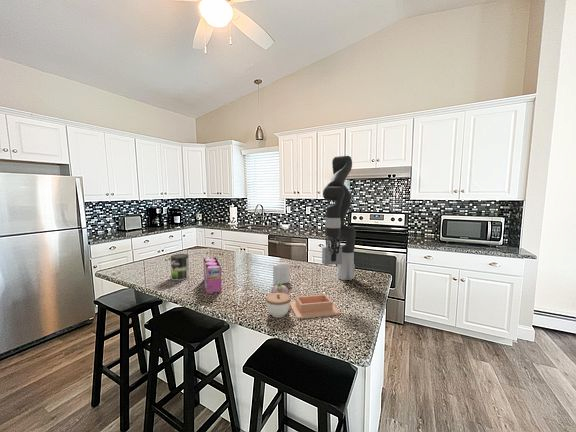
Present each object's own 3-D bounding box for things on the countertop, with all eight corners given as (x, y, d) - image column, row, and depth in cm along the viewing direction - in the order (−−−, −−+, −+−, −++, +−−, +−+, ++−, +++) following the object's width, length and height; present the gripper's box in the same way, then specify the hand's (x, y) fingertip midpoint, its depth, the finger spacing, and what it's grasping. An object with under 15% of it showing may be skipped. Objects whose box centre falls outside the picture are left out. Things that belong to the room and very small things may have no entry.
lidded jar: (270, 322, 106) (270, 300, 105) (262, 311, 116) (262, 291, 115) (294, 317, 110) (294, 296, 109) (284, 307, 120) (284, 287, 119)
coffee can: (180, 281, 154) (179, 258, 152) (167, 279, 157) (166, 256, 156) (192, 276, 163) (192, 254, 162) (180, 274, 167) (179, 253, 166)
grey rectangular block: (338, 262, 133) (338, 246, 132) (341, 264, 129) (342, 248, 128) (322, 262, 131) (322, 247, 130) (324, 265, 127) (325, 249, 126)
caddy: (288, 303, 124) (288, 294, 124) (327, 299, 129) (327, 291, 128) (297, 319, 109) (297, 309, 108) (340, 314, 113) (341, 304, 113)
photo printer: (286, 280, 157) (286, 260, 155) (290, 282, 153) (290, 262, 152) (272, 283, 151) (272, 263, 150) (275, 286, 147) (275, 264, 146)
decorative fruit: (291, 306, 121) (291, 285, 120) (274, 308, 119) (274, 287, 118) (285, 298, 130) (285, 279, 129) (269, 300, 128) (269, 280, 127)
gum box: (203, 279, 158) (202, 257, 157) (216, 277, 161) (216, 256, 160) (206, 293, 136) (206, 268, 135) (222, 291, 139) (221, 267, 138)
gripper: (346, 228, 122) (344, 263, 124) (334, 224, 136) (333, 256, 138) (331, 228, 121) (330, 264, 122) (320, 224, 135) (320, 257, 136)
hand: (331, 259), depth 130 cm, fingers closed on grey rectangular block, 4 cm apart
